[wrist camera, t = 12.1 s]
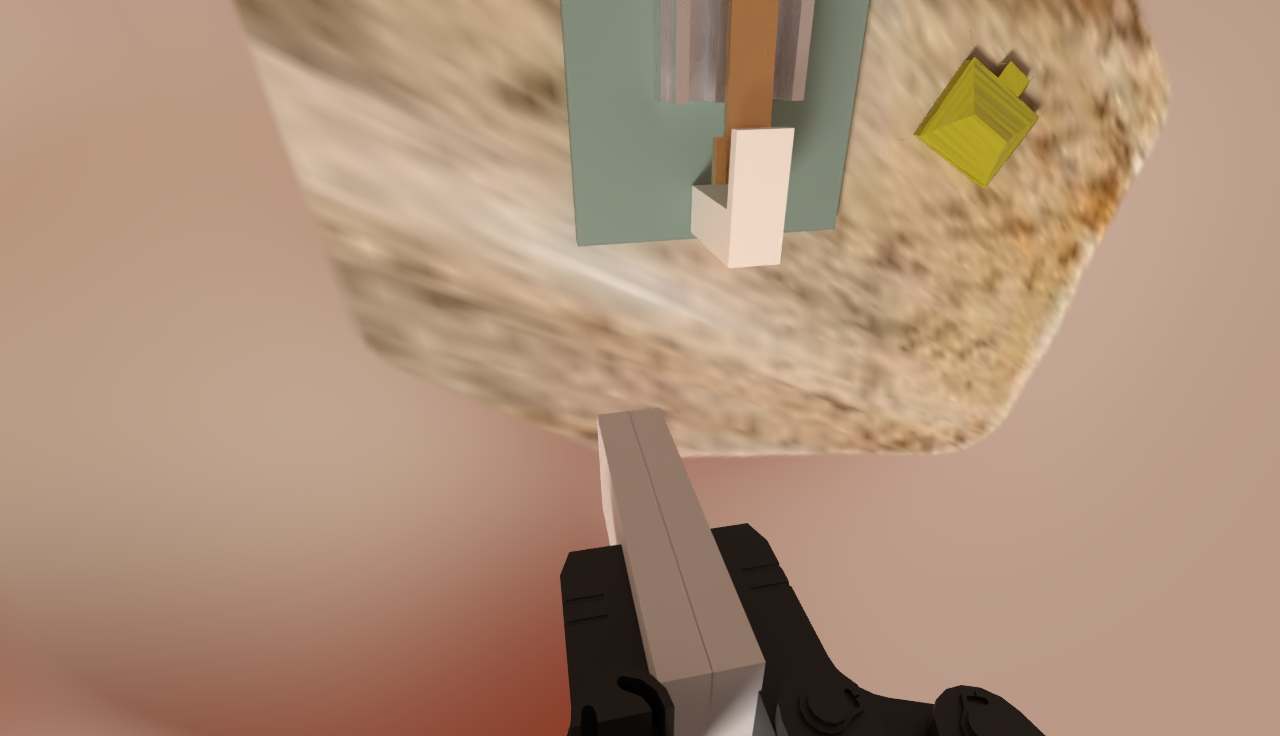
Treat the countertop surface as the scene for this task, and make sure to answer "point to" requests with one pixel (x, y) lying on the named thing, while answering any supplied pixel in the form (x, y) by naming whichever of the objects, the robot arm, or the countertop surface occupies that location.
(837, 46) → the board
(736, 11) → the strap
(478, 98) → the countertop surface
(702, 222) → the cream l-shaped bracket
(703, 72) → the heatsink
